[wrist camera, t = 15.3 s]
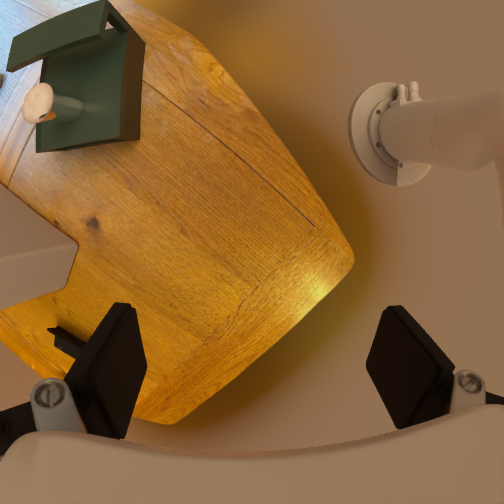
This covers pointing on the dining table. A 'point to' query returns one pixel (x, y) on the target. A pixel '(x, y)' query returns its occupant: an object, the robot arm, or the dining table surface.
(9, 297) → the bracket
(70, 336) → the handheld gaming console
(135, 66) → the shelf unit
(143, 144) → the dining table surface
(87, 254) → the dining table surface
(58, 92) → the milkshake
